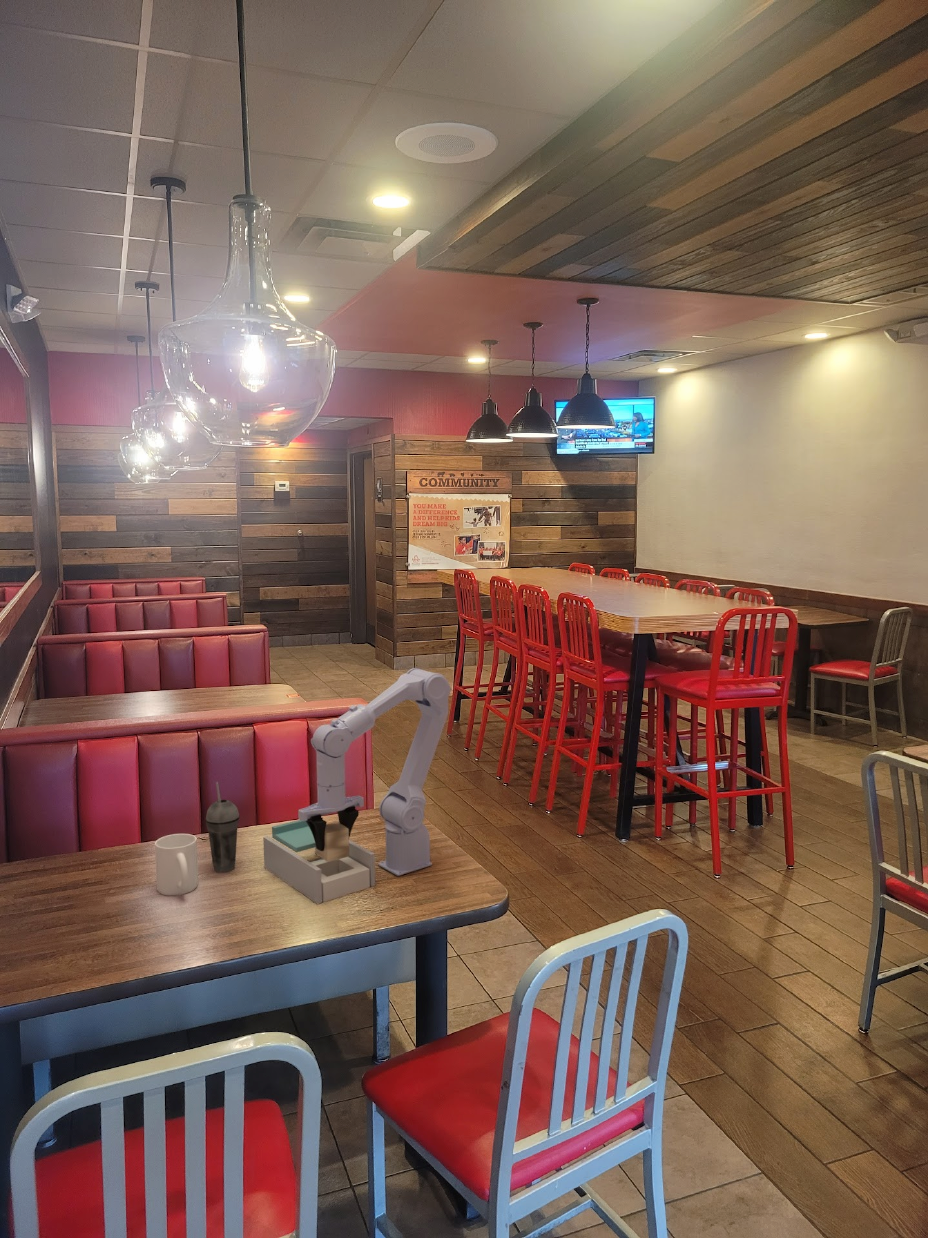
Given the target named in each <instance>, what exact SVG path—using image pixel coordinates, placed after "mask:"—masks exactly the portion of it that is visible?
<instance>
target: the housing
mask: <svg viewBox="0 0 928 1238" xmlns="http://www.w3.org/2000/svg"><path fill="white" fill-rule="evenodd" d="M314 853H315V854H316V855H317V849H316V847H315V848H314ZM263 867H264V869H266V870H267V871H268V872H270V873H271V874H273V875H274V876H276V877H278V878H279V879H280V880H282V881H283V882H285V883H286V884H288V885H289V886H291V887H292V888H294V889H295V890H296V891H298V892H299V893H300V894H302V895H303V896H305V897H306V898H308V899H310V900H311V901H312V902H314V903H315V904H316V905H319V904H322V903H325V902H328V901H331V900H335V899H339V898H341V897H345V896H346V895H350V894H353V893H357V892H360V891H362V890H366V889H369V888H370V887H371V888H372V887H375V886H376V853H375V852H373V851H371V850H369V849H367V848H366V847H363V846H361V845H360V844H358V843H356V842H354V841H352V839H349V857H345V858H341V859H337V860H334V861H330V862H327V861H325V860H324V859H323V858H320V859H318V860H317V859H316V860H314V861H308V860H307V859H305V858H304V857H302V856H301V855H299V854H297V852H295V851H293V850H292V849H290V848H288V847H287V846H285V845H284V844H282V843H280V842H279V841H277V840H275V839H274V838H272V837H270V836H268V835H267V836H263Z"/></svg>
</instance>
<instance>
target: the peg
mask: <svg viewBox="0 0 928 1238" xmlns="http://www.w3.org/2000/svg"><path fill="white" fill-rule="evenodd" d="M324 840H325V847H324V851H320V850H318V849H317V854H316V855H317V856H318V857H320V859H324V860H325V861H327V862H330V861H334V860H337V859H341V858H345V857H349V840H350V837H349V829H348V828H347V827H345V826H343V825H342V824H340V823H339V821H335V822H332V823H328V824H327V823H326V828H325V835H324Z"/></svg>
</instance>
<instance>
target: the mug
mask: <svg viewBox="0 0 928 1238" xmlns="http://www.w3.org/2000/svg"><path fill="white" fill-rule="evenodd" d="M197 841H198V839H197V837H196V836H195V835H193V834H190V833H173V834H169V835H164V836H162V837H160V838H157V840H156V841H155V842H154V854H155V855H154V856H155V857H154V859H155V860H154V861H155V880H156V890H157V891H158V892H159V894H162V895H164V896H168V897H172V896H173V897H174V896H181V895H186V894H188V893H190V892H193V891H194V890H195V889H197V887H198V884H199V867H198V864H199V863H198V842H197Z"/></svg>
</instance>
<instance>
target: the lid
mask: <svg viewBox="0 0 928 1238" xmlns="http://www.w3.org/2000/svg"><path fill="white" fill-rule="evenodd" d="M271 836H272V837H271V839H273V840H275V841H276V842H278V843H279V844H281V845H283V846H284V847H286V848H288V849H289V850H291V851H292V852H294V853H300V852H303V851H307V850H310V849H315V847H316V844H315V840H314V837H313V834H312V832H311V830H310V828H309V826H308V824H307V822H306V821H301V820H300V819H298V820H293V821H289V822H285V823H282V824H277V825H272V826H271Z"/></svg>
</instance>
